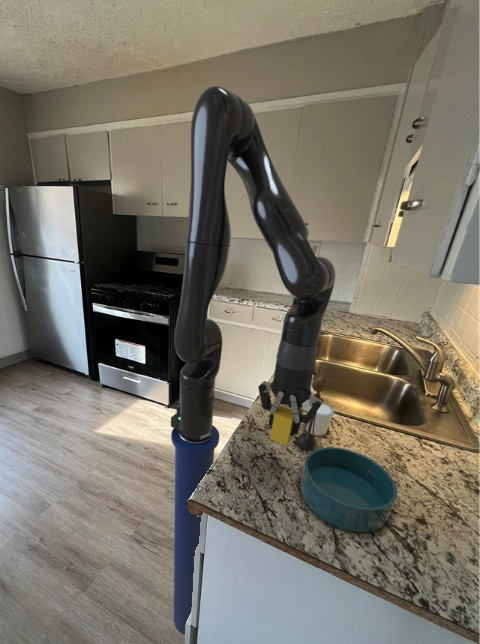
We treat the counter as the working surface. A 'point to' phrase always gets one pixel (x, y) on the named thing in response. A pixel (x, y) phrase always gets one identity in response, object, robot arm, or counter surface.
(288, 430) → the sponge
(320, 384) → the wooden tabletop sculpture
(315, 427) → the white short cylinder
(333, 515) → the bowl
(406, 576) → the counter surface
